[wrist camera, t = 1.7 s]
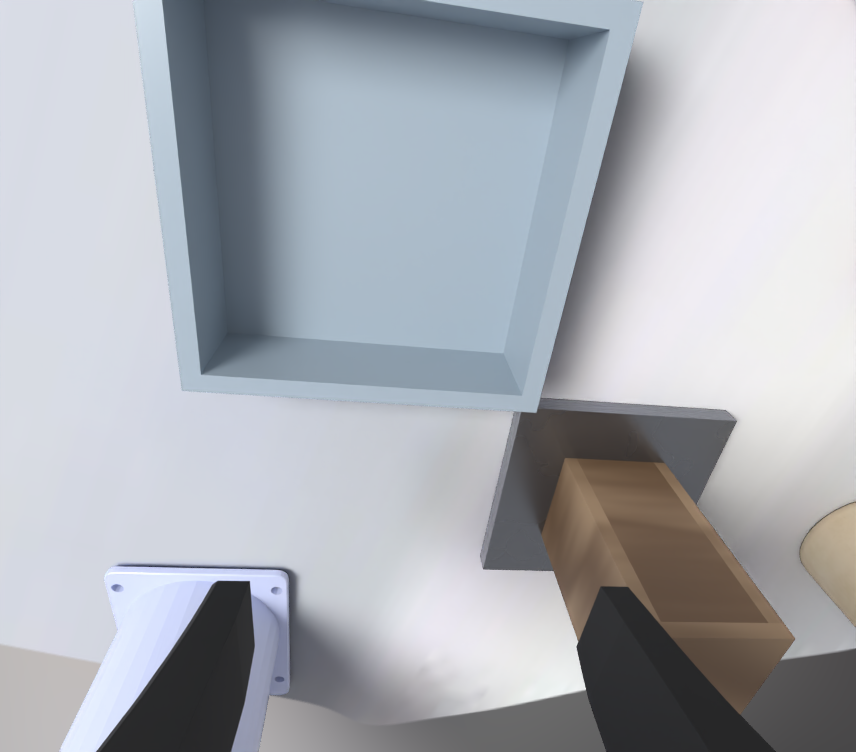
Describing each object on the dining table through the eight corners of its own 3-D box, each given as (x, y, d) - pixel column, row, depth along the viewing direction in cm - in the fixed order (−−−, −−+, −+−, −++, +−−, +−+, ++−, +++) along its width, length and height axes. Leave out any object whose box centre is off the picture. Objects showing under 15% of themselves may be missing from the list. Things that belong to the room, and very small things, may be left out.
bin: (512, 362, 20) (536, 412, 17) (214, 340, 19) (181, 391, 16) (589, 18, 15) (643, 1, 12) (181, -46, 13) (122, -85, 10)
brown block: (632, 538, 24) (734, 723, 17) (541, 535, 24) (607, 724, 17) (665, 463, 22) (795, 638, 15) (564, 457, 21) (652, 637, 14)
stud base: (655, 560, 26) (688, 619, 23) (480, 555, 25) (492, 616, 22) (725, 410, 22) (777, 459, 19) (517, 396, 21) (539, 447, 18)
